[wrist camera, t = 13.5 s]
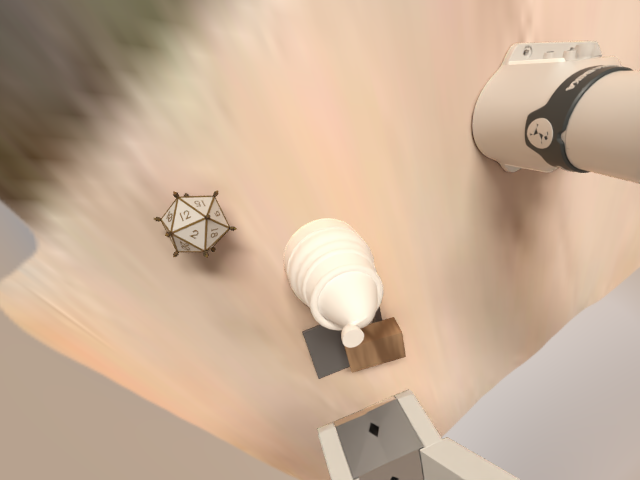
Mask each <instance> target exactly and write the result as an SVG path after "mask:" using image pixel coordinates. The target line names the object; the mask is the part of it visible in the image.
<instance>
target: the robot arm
mask: <svg viewBox="0 0 640 480" xmlns="http://www.w3.org/2000/svg"><path fill="white" fill-rule="evenodd" d="M524 51H525V53H524ZM523 53H524V55H523ZM472 128H473V136H474V140H475V143H476V145H477V147H478V148H479V150H480V151H481V152H482V153H483V154H484V155H485V156H487V157H488V158H490V159H493V160H495V161H497V162H499V164H500V165H501V167H502V168H503V169H504V170H505V171H506V172H511V173H513V172H516V171H518V170H520V169H521V168H524V169H530V170H535V171H541V172H547V173H549V172H552V171H553V170H556V169H558V168H560V169H562V170H566V171H570V172H571V171H572V172H580V173H587V172H594V173H598V174H602V175H606V176H610V177H614V178H618V179H622V180H626V181H631V182H635V183H639V184H640V70H632V69H630V68H626V67H623V66H622V65H621V62H620V60H619V59H618V58H617V57H616V56H608V57H602V54H601V50H600V47H599V44H598V42H596V41H570V42H536V43H515V44H513V45H512V46H511V47H510V49H509V50H508V52H507V54H506V56H505V58H504V60H503V62H502V65H501V66H500V68H499V69H498V70H497V72H496V73H495V74H494V75H493V76H492V77H491V78H490V79H489V81H488V82H487V83H486V85H485V86H484V88H483V90H482V91H481V93H480V95H479V98H478V100H477V103H476V106H475V109H474V114H473V122H472ZM334 425H335V426H334ZM335 428H336V429H335ZM317 431H318V436H319V440H320V443H321V446H322V450H323V453H324V457H325V460H326V464H327V467H328V471H329V474H330V478H331V480H520V479H519V478H516V477H515V476H513V475H511V474H510V473H508V472H506V471H505V470H503V469H501V468H499V467H498V466H496V465H494V464H492V463H491V462H489V461H487V460H485V459H484V458H482V457H481V456H479V455H477V454H475V453H474V452H472V451H470V450H468V449H467V448H465V447H463V446H461V445H460V444H458V443H456V442H454V441H453V440H451V439H449V438H448V437H446V438H444V439H442V437H441V436H440V434H439V433H438V431H437V430H436V428H435V427H434V425H433V423H432V422H431V420H430V419H429V417H428V416H427V414H426V412H425V411H424V409H423V408H422V406H421V405H420V403H419V401H418V400H417V398H416V397H415V395H414V394H413V392H412V391H410V390H409V389H408V390H406V391H403V392H401V393H399V394H397V395H394V396H391V397H389V398H386V399H384V400H382V401H380V402H378V403H375V404H373V405H371V406H369V407H366V408H364V409H363V410H360V411H358V412H356V413H353V414H351V415H348V416H346V417H344V418H341V419H339V420H337V421H334V423H333V422H331V423H329V424H326V425H324V426H322V427H320V428H317ZM339 439H340V440H339ZM340 442H341V443H340Z"/></svg>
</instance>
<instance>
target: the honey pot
mask: <svg viewBox="0 0 640 480" xmlns="http://www.w3.org/2000/svg"><path fill="white" fill-rule="evenodd" d="M283 262H284V268H285V272H286V274H287V277H288V280H289V282H290V285H291V288H292V290H293V291H294V293H295V295H296V296H297V297H298V298H299V299H300V300H301V301H302V302H303V303H304V304H306V305H307V306H308V307H310V309H311V313H312V315H313V317H314V319H315V320H316V321H317V322H318V323H319V324H320V325H321V326H323V327H326V328H328V329H332V330H342V332H341V339H342V342H343V344H344V346H346V347H348V348H352V347H356V346H358V345H359V344H360V343H361V342H362V341H363V339H364V333H363V332H362V330H361V328H364V327H366V326H367V325H368V324H370V322H371V321H372V320H373V318H374V316H375V313H376V311H377V309H378V308H379V306H380V304H381V301H382V297H383V284H382V281H381V278H380V277H379V275H378V274H377V271H376V268H375V265H374V258H373V255H372V252H371V249H370V247H369V246H368V245H367V243H366V242H365V241H364V240H363V239H362V237H361V236H360V235H359V234H358V233H357V232H356V231H355V230H354V229H353V228H352V227H351V226H350V225H348V224H347V223H345V222H343V221H340V220H337V219H328V218H324V219H319V220H314V221H312V222H310V223H308V224H306V225H304V226H302V227H301V228H300V229H299V230H297V231H296V232H295V233H294V234H293V236H292V237H291V238H290V240H289V241H288V243H287V246H286V248H285V251H284V258H283ZM324 317H325V318H326V319H325V318H324ZM327 319H328V320H327ZM329 320H330V321H329Z"/></svg>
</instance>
